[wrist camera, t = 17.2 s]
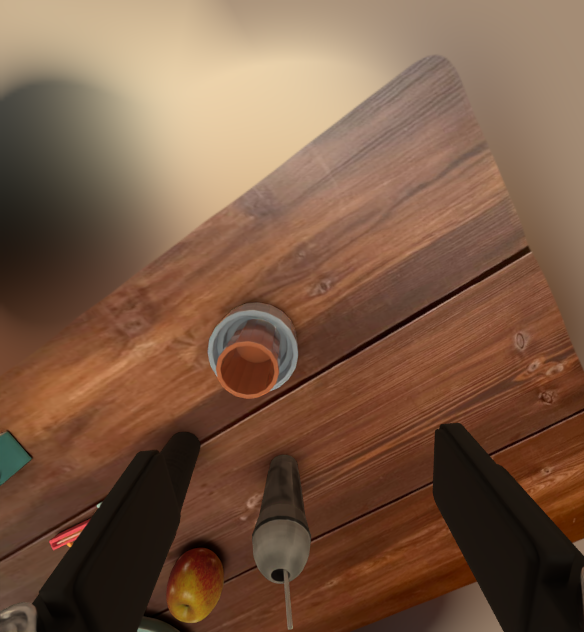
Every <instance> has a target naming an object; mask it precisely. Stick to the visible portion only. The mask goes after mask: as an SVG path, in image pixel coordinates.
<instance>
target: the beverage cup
mask: <svg viewBox="0 0 584 632" xmlns="http://www.w3.org/2000/svg"><path fill="white" fill-rule="evenodd" d="M252 542H253V555H254V559H255V562H256V564H257V566H258V569H259V571H260V572H261V573H262V574H263V575H264V577H265V578H267V579H268V580H270V581H271V582H274V583H279V584H283V583H284V586H285V599H286V612H287V625H288V629H289V630H290V629H292V628H293V625H292V613H291V602H290V590H289V582H290V581H292V580H293V579H295V578H296V577H297V576H298V575H299V574H300V573H301V572H302V570H303V568H304V566H305V564H306V562H307V560H308V556H309V549H310V542H311V534H310V531H309V527H308V524H307V520H306V517H305V511H304V503H303V496H302V489H301V482H300V475H299V470H298V464H297V461H296V460H295V459H294V458H293V457H291V456H288V455H279V456H277V457H275V458H274V459H273V460H272V461H271V463H270V468H269V471H268V475H267V480H266V485H265V490H264V495H263V500H262V505H261V510H260V514H259V517H258V520H257V523H256V526H255V529H254V532H253V534H252Z"/></svg>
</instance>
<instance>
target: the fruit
mask: <svg viewBox="0 0 584 632" xmlns="http://www.w3.org/2000/svg"><path fill="white" fill-rule="evenodd" d="M223 583H224V572H223V567H222V564H221V561H220V559H219V558H218V557H217V555H216V554H215V553H214V552H213V551H211V550H209V549H206V548H194V549H191V550H189V551H187V552H185V553H184V554H183V555H182V556H181V557H180V558H179V559H178V560H177V562H176V563H175V565H174V567H173V569H172V571H171V573H170V577H169V580H168V584H167V593H166V598H167V605H168V608H169V610H170V612H171V614H172V615H173V616H174V617H175V618H176V619H177V620H179V621H182V622H188V623H194V622H198V621H201V620H202V619H204V618H205V617H206V616H207V615H208V614H209V613H210V612H211V611H212V610H213V608H214V607H215V605H216V604H217V602H218V600H219V597H220V595H221V592H222V588H223Z"/></svg>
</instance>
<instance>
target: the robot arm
mask: <svg viewBox="0 0 584 632" xmlns="http://www.w3.org/2000/svg"><path fill="white" fill-rule="evenodd" d="M433 496H434V500H435V502H436V504H437V506H438V508H439V510H440V512H441V514H442V516H443V518H444V520H445V522H446V523H447V525H448V527H449V529H450V531H451V533H452V535H453V537H454V539H455V540H456V542H457V544H458V546H459V548H460V550H461V552H462V554H463V556H464V557H465V559H466V561H467V563H468V565H469V567H470V569H471V571H472V573H473V574H474V576H475V578H476V580H477V582H478V584H479V586H480V588H481V590H482V591H483V593H484V595H485V597H486V599H487V601H488V603H489V605H490V606H491V609H492V610H493V612H494V614H495V616H496V618H497V620H498V622H499V624H500V626H501V627H502V629H503V631H504V632H584V556H583V555H582V553H581V552H580V551H579V550H578V549H577V548H576V547H575V546H574V545H573V543H572V542H571V541H570V540H569V539H568V538H567V537H566V536H565V535H564V534H563V532H562V531H561V530H560V529H559V528H558V527H557V526H556V525H555V524H554V522H553V521H552V520H551V519H550V518H549V517H548V516H547V515H546V514H545V512H544V511H543V510H542V509H541V508H540V507H539V506H538V505H537V504H536V502H535V501H534V500H533V499H532V498H531V497H530V496H529V495H528V494H527V492H526V491H525V490H524V489H523V488H522V487H521V486H520V485H519V484H518V482H517V481H516V480H515V479H514V478H513V477H512V476H511V475H510V474H509V472H508V471H507V470H506V469H504V468H503V467H502V466H500V465H498V464H496V463H495V462H494V460H493V459H492V458H491V457H490V456H489V455H488V454H487V453H486V451H485V450H484V449H483V448H482V447H481V446H480V445H479V443H478V442H477V441H476V440H475V439H474V438H473V437H472V436H471V434H470V433H469V432H468V431H467V430H466V429H465V428H464V426H463V425H461V424H460V423H450V424H441V425H440V428H439V429H437V430H436V431H435V444H434V471H433ZM179 523H180V509H179V506H178V502H177V499H176V495H175V492H174V488H173V485H172V482H171V478H170V475H169V471H168V468H167V464H166V461H165V457H164V455H163V454H160V453H159V451H158V450H150V451H140V452H138V453H137V454H136V456H135V457H134V459H133V460H132V461H131V463H130V464H129V466H128V467H127V468H126V470H125V471H124V473H123V474H122V475H121V477H120V478H119V480H118V481H117V483H116V484H115V485H114V487H113V488H112V490H111V491H110V492H109V494H108V495H107V497H106V498H105V499H104V501H103V502H102V504H101V505H100V506H99V508H98V509H97V511H96V512H95V514H94V515H93V516H92V518H91V519H90V521H89V522H88V523H87V525H86V526H85V528H84V529H83V530H82V532H81V533H80V535H79V536H78V537H77V539H76V540H75V542H74V543H73V545H72V546H71V547H70V549H69V550H68V552H67V553H66V554H65V556H64V557H63V559H62V560H61V561H60V563H59V564H58V566H57V567H56V568H55V570H54V571H53V573H52V574H51V575H50V577H49V578H48V580H47V581H46V583H45V584H44V585H43V587H42V588H41V590H40V591H39V595H38V596H37V598H36V599H35V600H34V602H33V603H32V604H31V603H25V602H21V603H18V604H15V605H12V606H9V607H8V608H6V609H4V610H2V611H0V632H137V631H138V628H139V625H140V623H141V620H142V618H143V615H144V613H145V610H146V608H147V605H148V603H149V600H150V597H151V595H152V592H153V590H154V587H155V585H156V582H157V580H158V577H159V574H160V572H161V569H162V567H163V564H164V562H165V559H166V557H167V554H168V552H169V549H170V546H171V544H172V541H173V539H174V536H175V534H176V531H177V529H178V526H179Z"/></svg>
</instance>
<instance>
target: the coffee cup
mask: <svg viewBox="0 0 584 632" xmlns="http://www.w3.org/2000/svg"><path fill="white" fill-rule="evenodd" d="M281 346H282V344H281V336H280V333H279V332H278V330H277V328H276V327H275V326H274V325H273V324H271V323H270V322H268V321H266V320H262V319H250V320H247V321H245V322H243V323H242V324H240V325H239V326H238V327H237V329H236V330H235V332H234V333H233V335H232V336H231V338H230V339H229V341H228V343H227V344H226V346H225V348H224V349H223V351H222V352H221V354H220V356H219V357H218V361H217V365H216V372H217V377H218V380H219V382H220V383H221V384H222V386H223V387H224V389H225V390H227V391H228V392H230V393H231V394H233V395H234V396H237V397H241V398H245V399H249V398H258V397H260V396H262V395H264V394H266V393H268V392H269V391H270V390H271V389H272V388H273V387H274V385H275V384H276V382H277V378H278V375H279V368H280V357H281Z"/></svg>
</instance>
